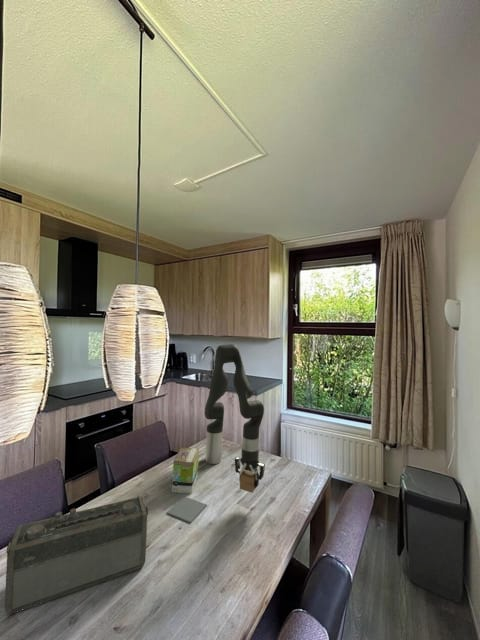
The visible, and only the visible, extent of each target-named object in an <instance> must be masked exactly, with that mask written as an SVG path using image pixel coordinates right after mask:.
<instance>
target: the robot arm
mask: <svg viewBox="0 0 480 640" xmlns="http://www.w3.org/2000/svg"><path fill="white" fill-rule="evenodd" d="M229 363H231V364H232V363H233V364H234V366H235V371H234V376H233V387H234V389H235V393H236V395H237V398H238V404H239V405H238V407H239V413H240V415H241V416H242V417H243V418H244V419H246V420H247V419H248V421H246V422H244V424H243V427H242V441H241V457H239V456H237V457H235V459H234V468H235V469H234V470H235V473H238V474H239V476H240V475H241V474H242V473H243V471H245V470H249V471H251V472H252V474H253V475H254V477H255V482H254V488H256V489H257V488H258V487H259V484H260V481H261V480H262V479H263V478H264V475H265V469H266V464H265V463H260V461H259V458H260V457H259V456H260V455H259V454H260V427H261V424H262V420H263V417H264V413H265V407H264V404H263V401H260V400H259V399H257V400H248V399H250V398H252V396H253V395H254V391H253V388H252V387H251V384H250V381H249V380H248V377H247V374H246V371H245V367H244V364H243V360H242V356H241V352H240V350H239V347H238V346H237V345H236V344H234V343H233V344H231V343H227V344H220V345H218V346H217V348H216V350H215V357H214V366H213V373H212V376H211V377H212V378H211V379H210V380H211V381H210V388H209V392H208V397H207V400H206V403H205V407H204V417H205V419H207V420H214V421H212V422H210V423H208V424H207V426H206V436H205V437H206V441H205V462H206V464H211V465H216V464H217V465H218V464H220V463H221V462H222V458H223V427H224V417H225V406H224V403H223V402H221V401H220V402H219V401H218V400H220V399H221V398H222V397H223V396H224V395H225V393H227V389H228V386H229V377H228V375H227V374H226V372H225V370H224V364H229ZM240 463H241V464H240ZM241 465H242V467H241ZM258 469H259V470H258ZM238 480H239V482H240V477H239V479H238Z"/></svg>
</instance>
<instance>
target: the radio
mask: <svg viewBox="0 0 480 640" xmlns="http://www.w3.org/2000/svg"><path fill="white" fill-rule="evenodd" d="M148 514H149V509H148V507H147V506H146V504H145V501H144V498H143V496H140V495H137V497H133V498H129V499H125V500H121V501H116V502H113V503H108V504H105V505H100V506H95V507H92V508H87V509H84V510H80V511H79V510H78V511H77V509H76V508H71V509H70V510H69V513H66V514H62V511H58V512H56V513H55V515H54V517H50V518H46V519H45V518H44V519H41V520H38V521H34V522H29V523H26V524H25V523H21V524H20V525H18V526H17V528H16V529H15V532H14V535H13V537H12V540H11V542H9V543H8V544H7V546H6V573H5V591H4V592H5V593H4V595H5V597H4V610H5V612H6V615H12V613H13V614H15V612H16V613H18V612H17V611H19V612H21V611H20V610H22V609H24V610H26V609H25V608H27V609H29V608H28V607H30V608H32V607H31V606H33V607H35V606H34V605H36V606H38V605H37V604H39V605H41V604H44V603H46V602H50V601H52V600H55V599H58V598H62V597H63V596H66V595H69V594H72V593H75V592H77V591H81V590H83V589H84V590H85V589H86V588H89V587H92V586H94V585H97V584H100V583H103V582H106V581H109V580H111V579H115V578H117V577H120V576H123V575H126V574H129V573H131V572H134V571H137V570H140V569H142V567H144V566H145V563H146V559H147V558H146V556H147V553H146V552H147V535H148V534H147V531H148V530H147V529H148ZM40 603H41V604H40ZM22 611H23V610H22Z"/></svg>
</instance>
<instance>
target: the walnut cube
mask: <svg viewBox="0 0 480 640" xmlns="http://www.w3.org/2000/svg"><path fill="white" fill-rule="evenodd" d="M239 478H240V481H239V489H240V490H243V491H246V492H248V493H251V494H252V493H254V492H255V490H256V489H257V487H256V488H254V482H255V477H254V475H253V474H252V472H251V471H249V470H245V471H243V473H242V474H241V475H239Z"/></svg>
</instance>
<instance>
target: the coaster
mask: <svg viewBox="0 0 480 640" xmlns="http://www.w3.org/2000/svg"><path fill="white" fill-rule="evenodd" d="M207 507H208V504H207V503H203V502H201V501H198V500H196V499H193V498H189V497H188V496H183V497H182V498H181V499H179V501H177V503H176V502H175V504H174V505H173V506H172V507H171V508H169V509H168V510H167V512H166V514H167V515H169V516H172V517H174V518H177V519H179V520H181V521H184V522H186V523H189V524H191V523H193V522H194V520H196V518H197V517H198V516H199V515H200V514H201V513H202V512H203V511H204V510H205V509H206V508H207Z"/></svg>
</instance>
